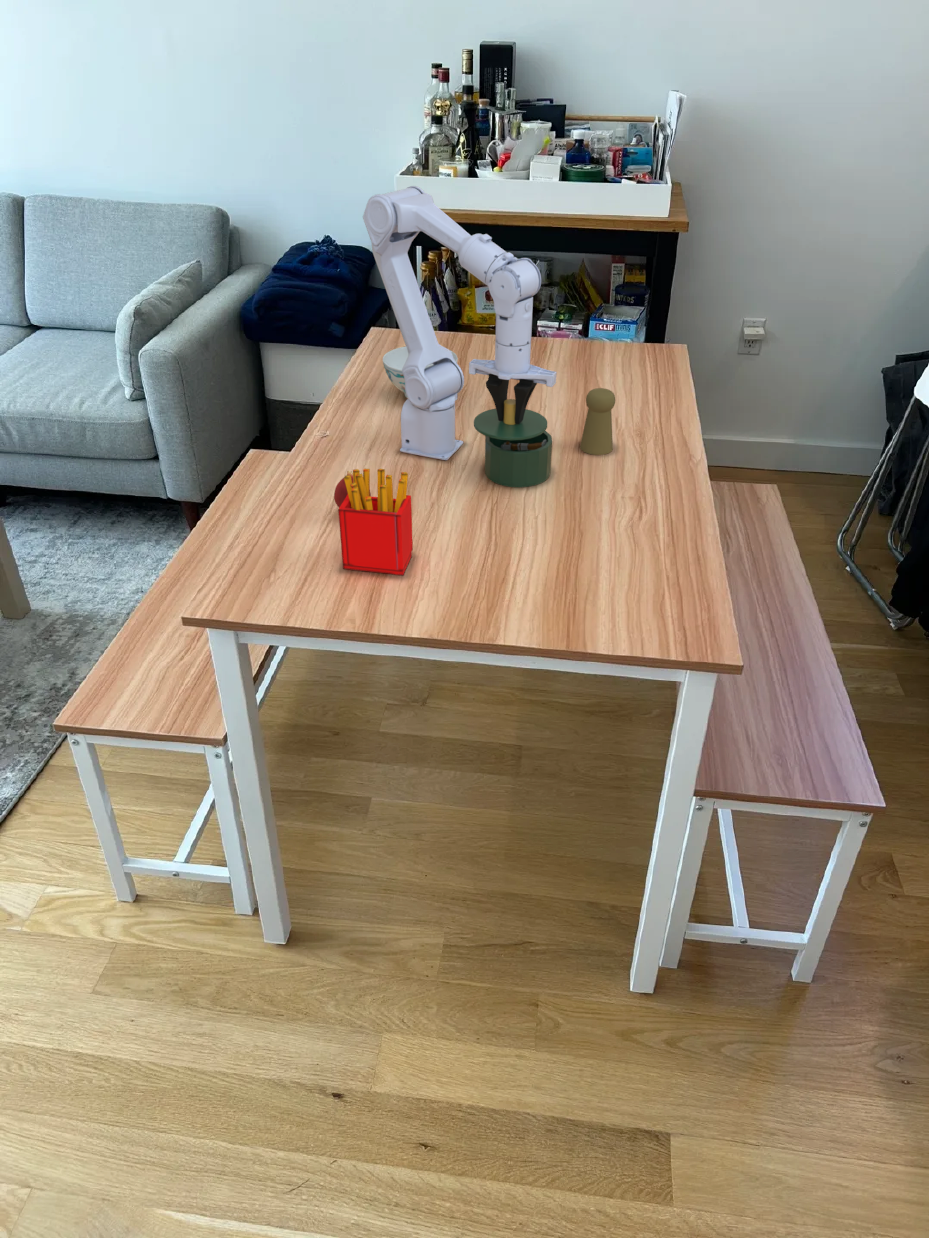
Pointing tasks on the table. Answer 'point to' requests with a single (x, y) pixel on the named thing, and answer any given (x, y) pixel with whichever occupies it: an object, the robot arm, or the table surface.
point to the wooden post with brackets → (523, 446)
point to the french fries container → (376, 525)
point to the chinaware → (399, 366)
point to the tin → (518, 462)
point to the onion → (342, 490)
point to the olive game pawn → (598, 422)
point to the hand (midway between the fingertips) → (510, 420)
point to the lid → (510, 423)
